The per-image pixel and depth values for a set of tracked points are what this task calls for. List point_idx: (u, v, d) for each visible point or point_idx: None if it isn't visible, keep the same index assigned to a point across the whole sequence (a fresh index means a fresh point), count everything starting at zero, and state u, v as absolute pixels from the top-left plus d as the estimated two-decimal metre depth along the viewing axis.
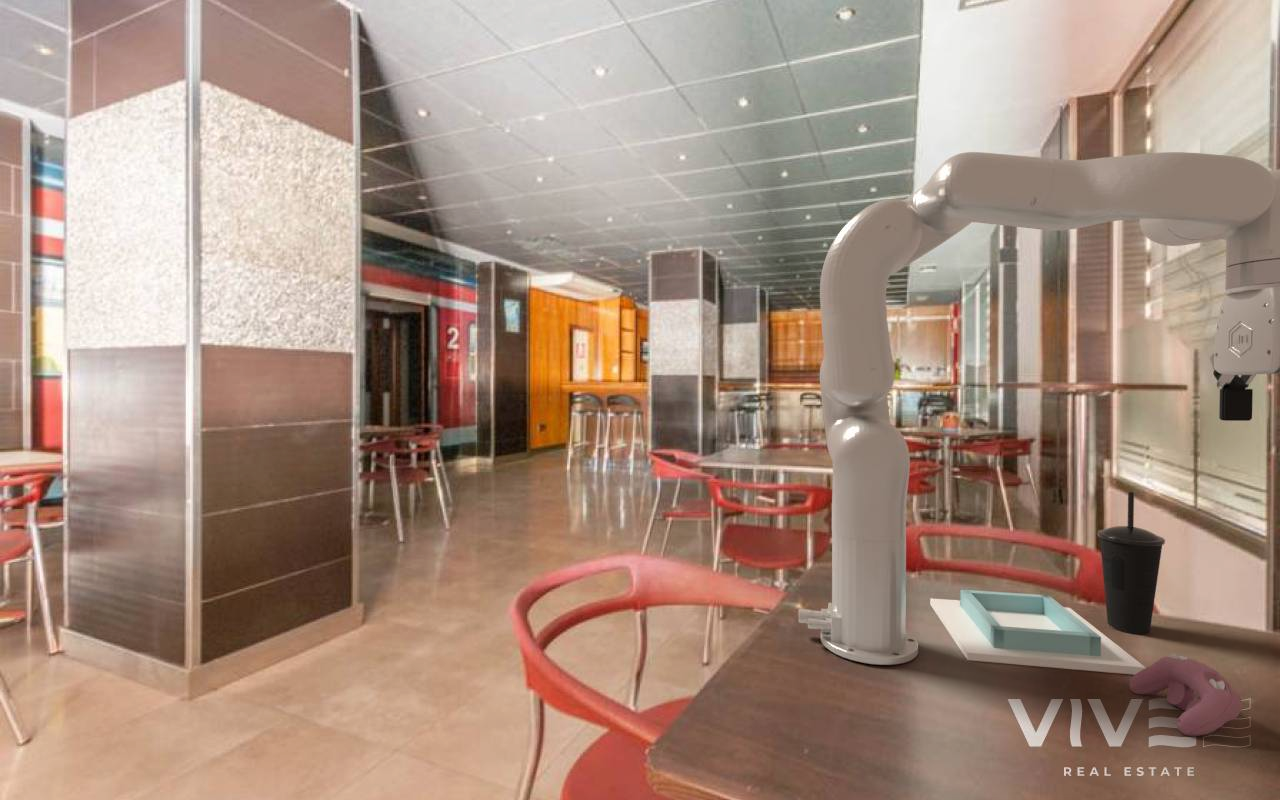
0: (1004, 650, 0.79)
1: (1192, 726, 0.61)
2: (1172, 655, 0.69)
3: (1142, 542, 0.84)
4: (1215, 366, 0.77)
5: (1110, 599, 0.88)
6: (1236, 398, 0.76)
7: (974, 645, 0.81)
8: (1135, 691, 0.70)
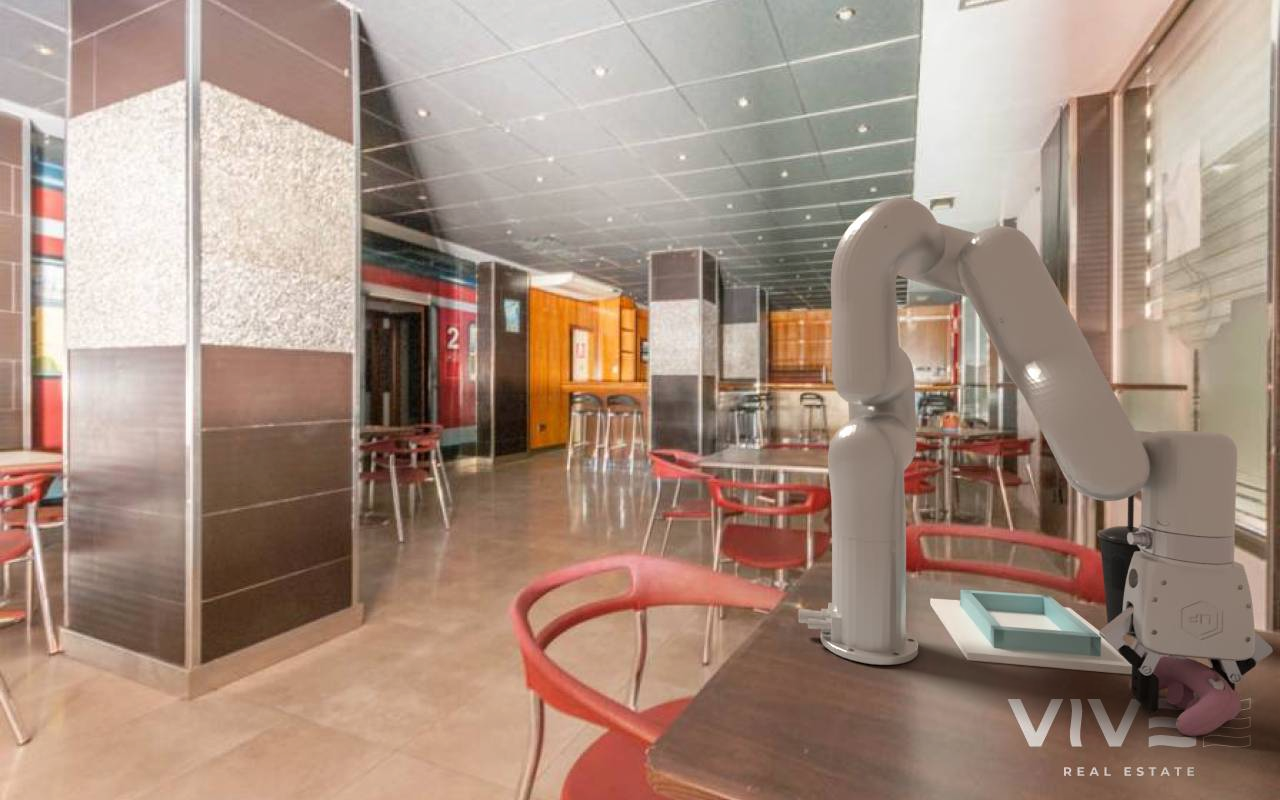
0: (1004, 650, 0.79)
1: (1191, 726, 0.61)
2: None
3: None
4: (1152, 645, 0.64)
5: (1110, 599, 0.88)
6: None
7: (974, 645, 0.81)
8: None
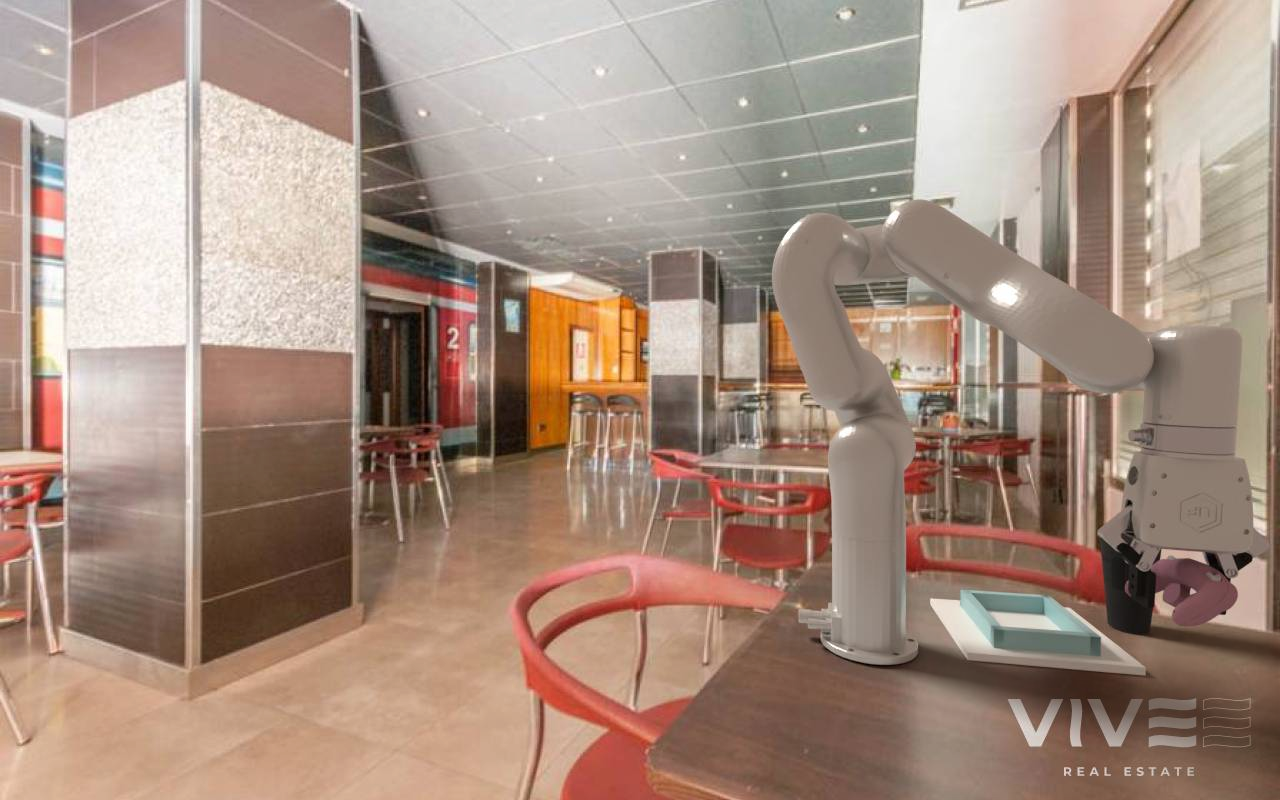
0: (1004, 650, 0.79)
1: (1187, 616, 0.61)
2: (1169, 556, 0.68)
3: None
4: (1150, 539, 0.64)
5: (1110, 599, 0.88)
6: None
7: (974, 645, 0.81)
8: None
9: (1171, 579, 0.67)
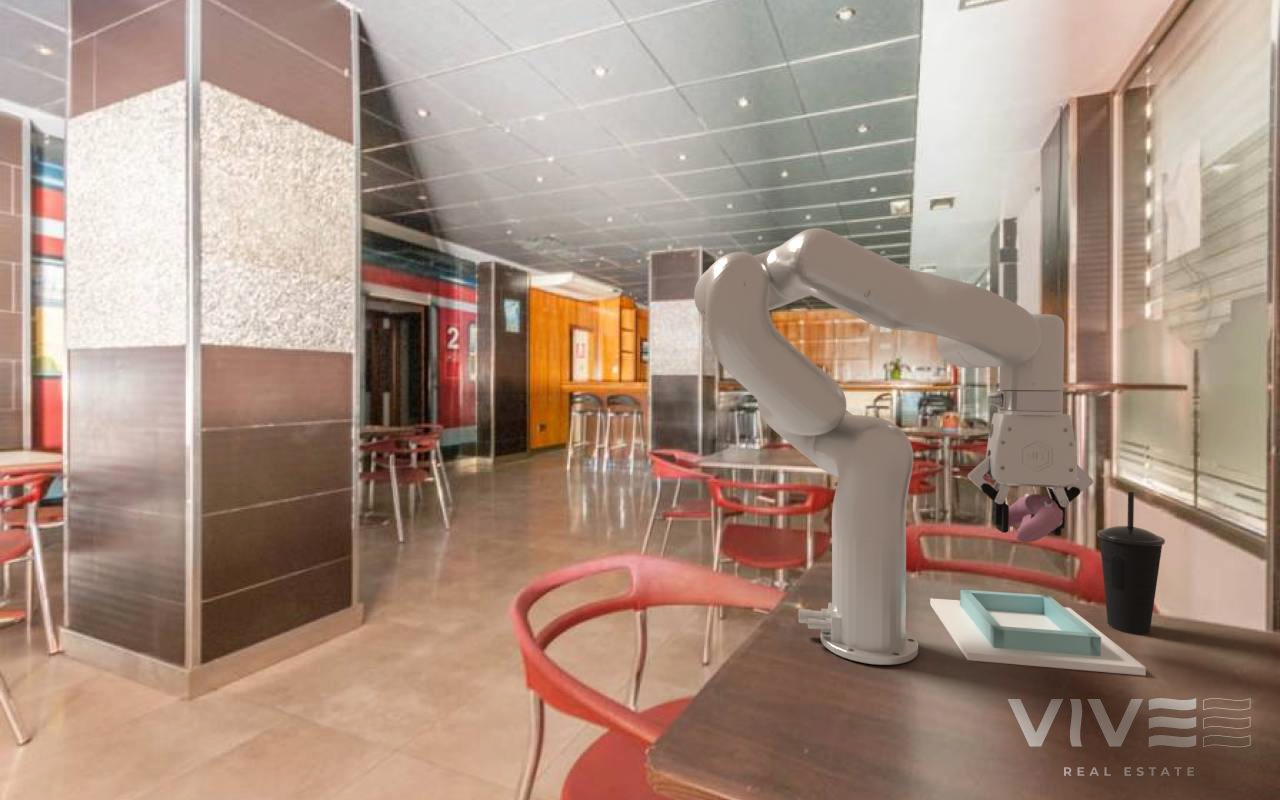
0: (1004, 650, 0.79)
1: (1025, 534, 0.81)
2: (1026, 495, 0.88)
3: (1142, 542, 0.84)
4: (1001, 478, 0.83)
5: (1110, 599, 0.88)
6: None
7: (974, 645, 0.81)
8: None
9: (1025, 511, 0.86)
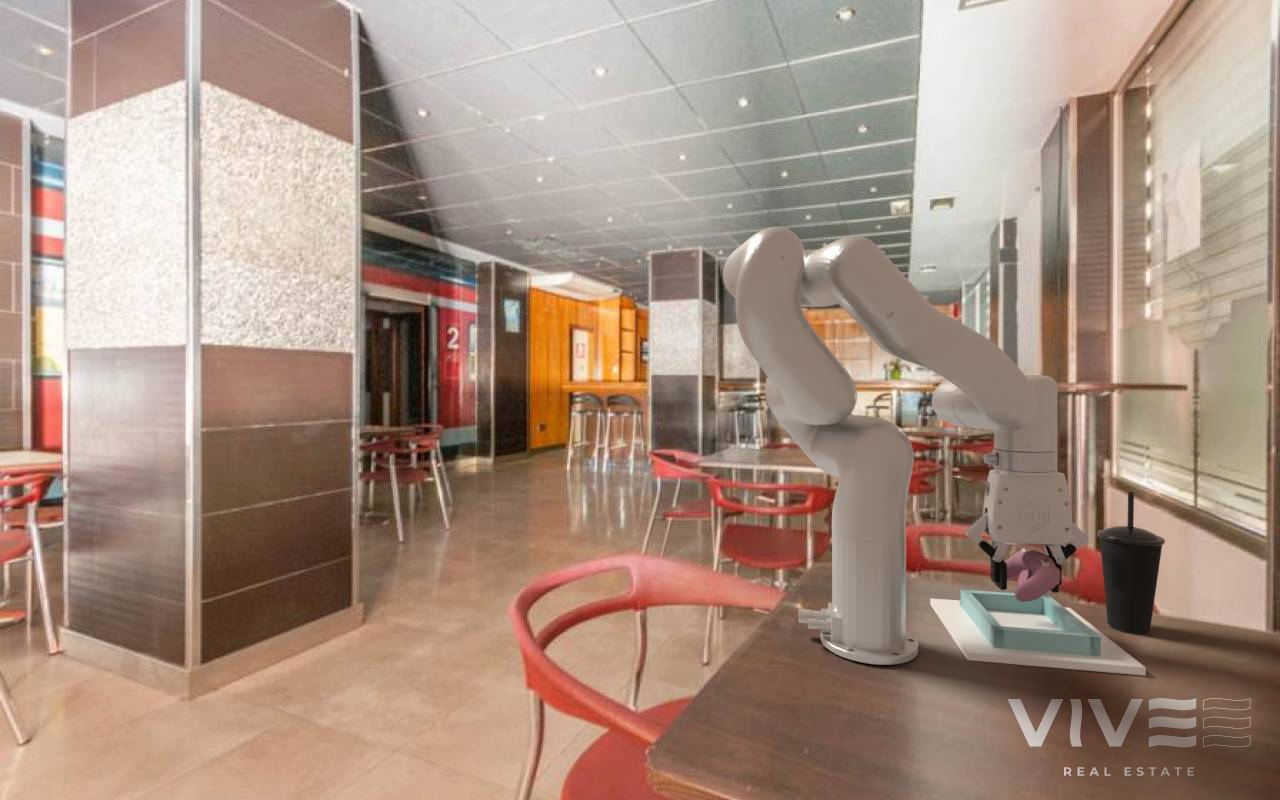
0: (1004, 650, 0.79)
1: (1024, 594, 0.82)
2: (1022, 549, 0.89)
3: (1142, 542, 0.84)
4: (999, 537, 0.84)
5: (1110, 599, 0.88)
6: None
7: (974, 645, 0.81)
8: None
9: (1023, 566, 0.88)
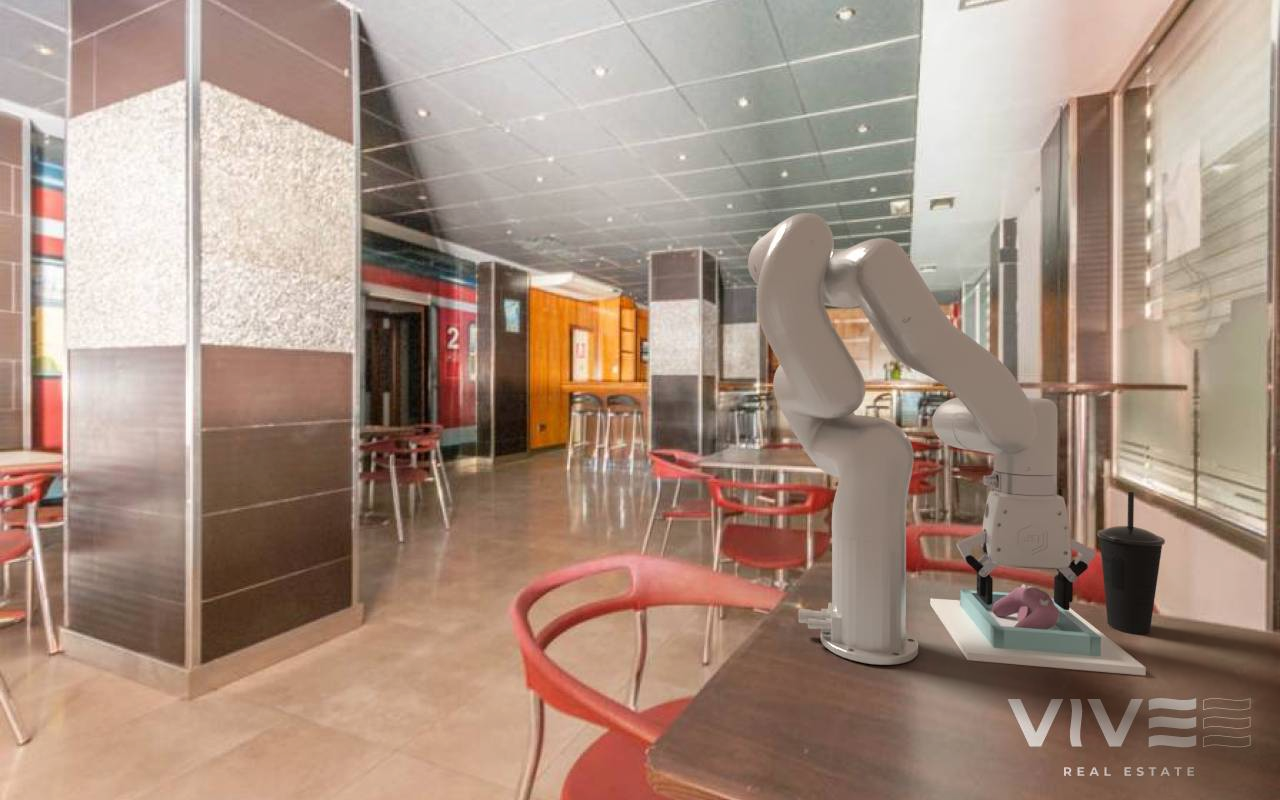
0: (1004, 650, 0.79)
1: None
2: (1022, 585, 0.89)
3: (1142, 542, 0.84)
4: (997, 559, 0.84)
5: (1110, 599, 0.88)
6: None
7: (974, 645, 0.81)
8: (996, 614, 0.90)
9: (1022, 603, 0.88)
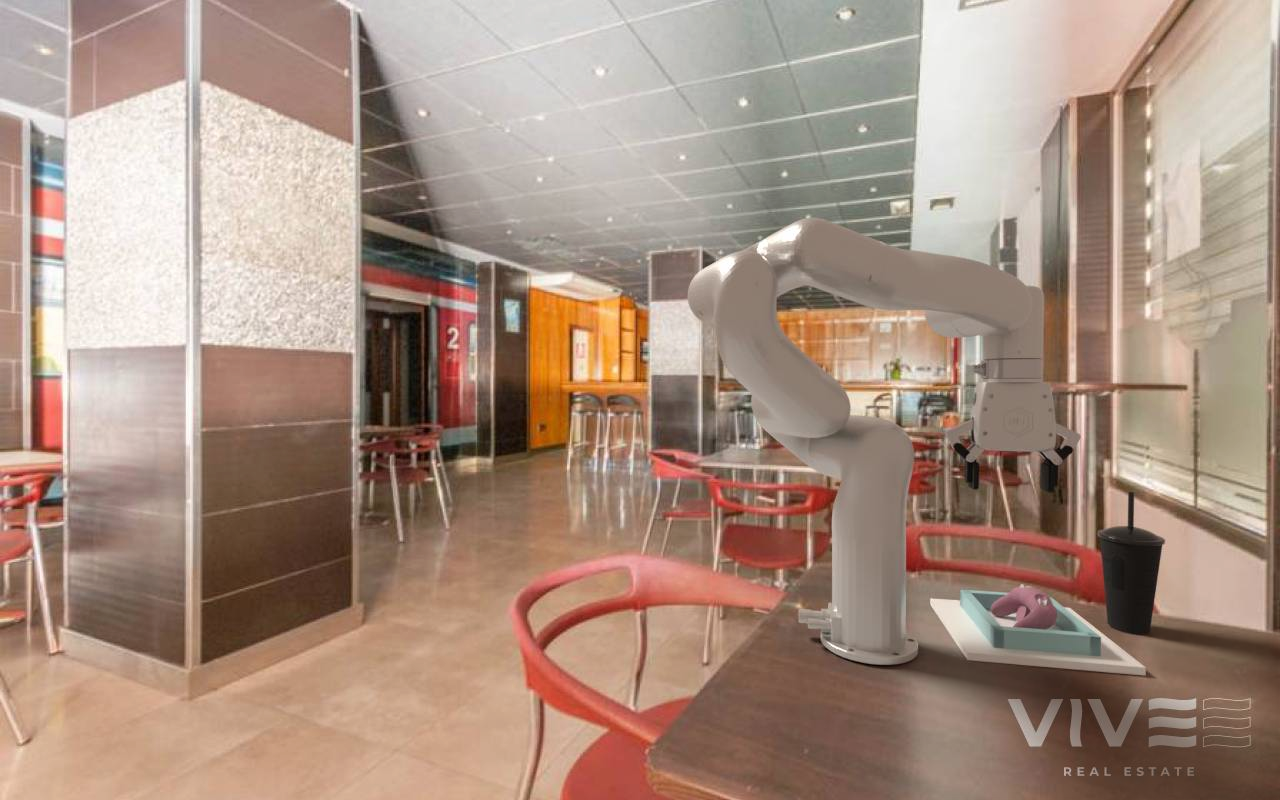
0: (1004, 650, 0.79)
1: None
2: (1021, 585, 0.89)
3: (1142, 542, 0.84)
4: (983, 443, 0.86)
5: (1110, 599, 0.88)
6: None
7: (974, 645, 0.81)
8: (994, 614, 0.90)
9: (1021, 603, 0.88)
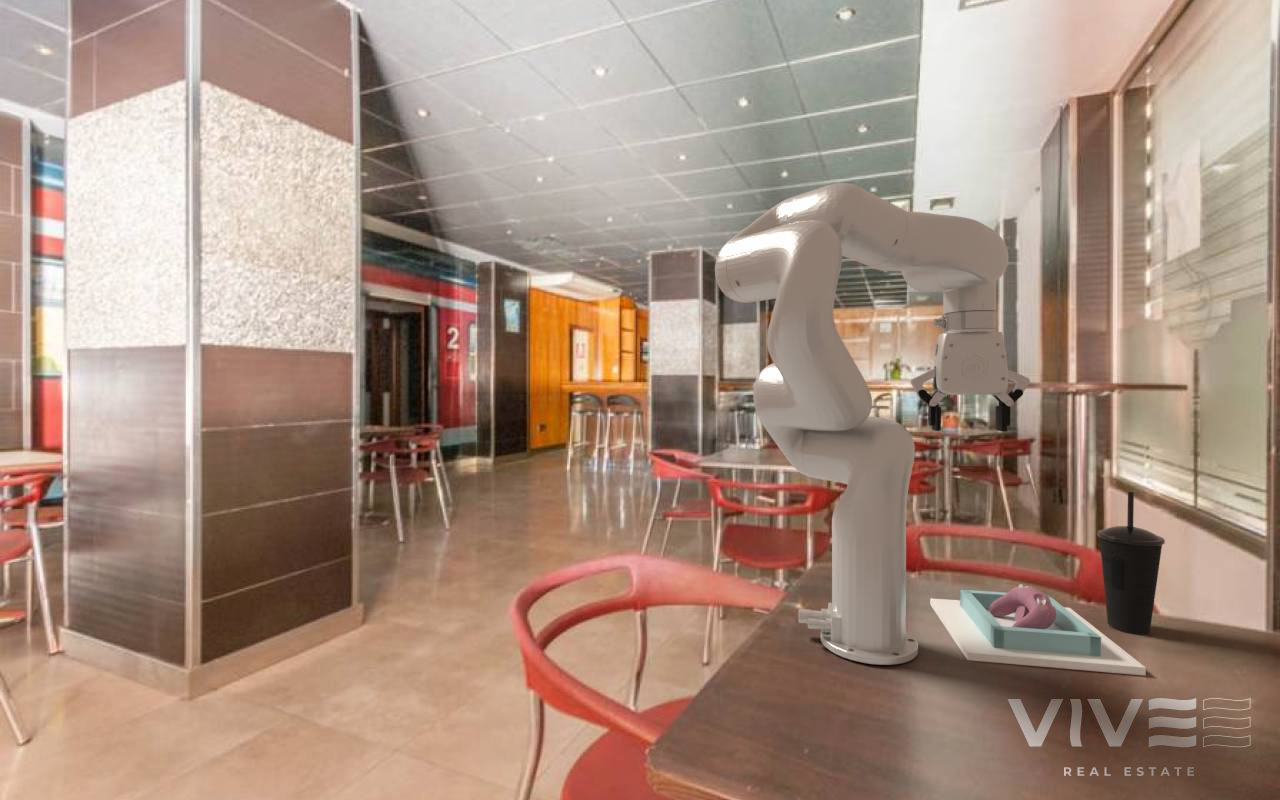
0: (1004, 650, 0.79)
1: None
2: (1019, 585, 0.89)
3: (1142, 542, 0.84)
4: (944, 388, 0.96)
5: (1110, 599, 0.88)
6: None
7: (974, 645, 0.81)
8: (993, 614, 0.90)
9: (1019, 603, 0.88)
